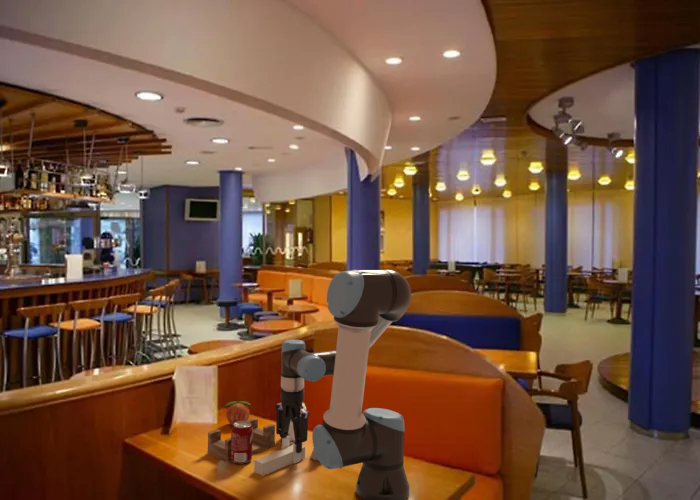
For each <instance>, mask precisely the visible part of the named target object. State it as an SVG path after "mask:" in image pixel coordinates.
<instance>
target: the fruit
mask: <svg viewBox="0 0 700 500" xmlns="http://www.w3.org/2000/svg"><path fill="white" fill-rule="evenodd" d="M248 405H249V406H250V405H252V404H251V403H249V401H244V400H241V401H240V398H237V401H235V400H234V401H230V402H228V403H226V404H225V405H224V406H226V407H227V406H228V408H227V411H226V418H227V422H228V423H229V424H230V425H231V426H233V427H234V423H235V422H238V421H248V420H249V418H250V409H249V406H248Z"/></svg>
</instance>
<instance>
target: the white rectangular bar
mask: <svg viewBox="0 0 700 500" xmlns="http://www.w3.org/2000/svg"><path fill="white" fill-rule="evenodd" d="M304 459H306V446H303V445H302V452H301V459H300V461H301V460H304ZM253 463H254V464H253V465H254V466H253V467H254V468H253V473H255V472H256V474H258V475H260V476H262V475H264V476H266V475H268V474H270V472H271V473H273V472H275V471H278V470H281V469H282V467H283V468H285V467H287V466H289V465H292V464H294V463H293V444H292V445H289V447H287V448H284V449H282V448H281V449H279V450H277V451H274V452H272V453H269V454H267V455H264V456H261V457H259V458H256V459H254V462H253ZM277 469H278V470H277ZM265 474H266V475H265Z"/></svg>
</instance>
